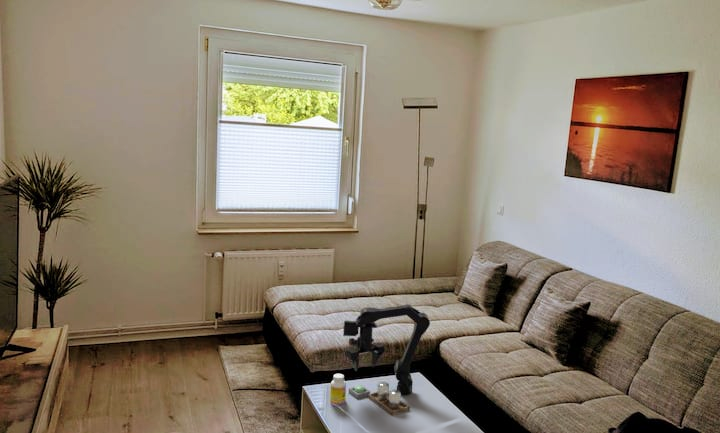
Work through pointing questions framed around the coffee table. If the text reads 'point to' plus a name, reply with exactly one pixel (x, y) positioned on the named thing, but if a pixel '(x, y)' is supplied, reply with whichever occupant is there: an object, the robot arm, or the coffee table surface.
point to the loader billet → (394, 399)
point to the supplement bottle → (338, 390)
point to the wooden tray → (386, 403)
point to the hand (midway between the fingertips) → (364, 368)
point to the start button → (359, 389)
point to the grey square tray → (359, 395)
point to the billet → (382, 391)
